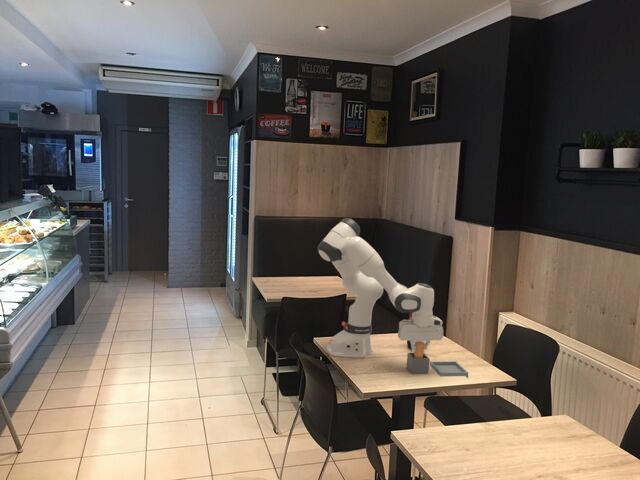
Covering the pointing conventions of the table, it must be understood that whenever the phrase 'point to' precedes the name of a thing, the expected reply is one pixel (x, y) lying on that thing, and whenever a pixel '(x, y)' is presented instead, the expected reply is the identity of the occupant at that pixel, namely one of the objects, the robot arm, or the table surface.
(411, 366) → the square hollow box
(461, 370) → the tray
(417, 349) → the peg
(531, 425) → the table surface
